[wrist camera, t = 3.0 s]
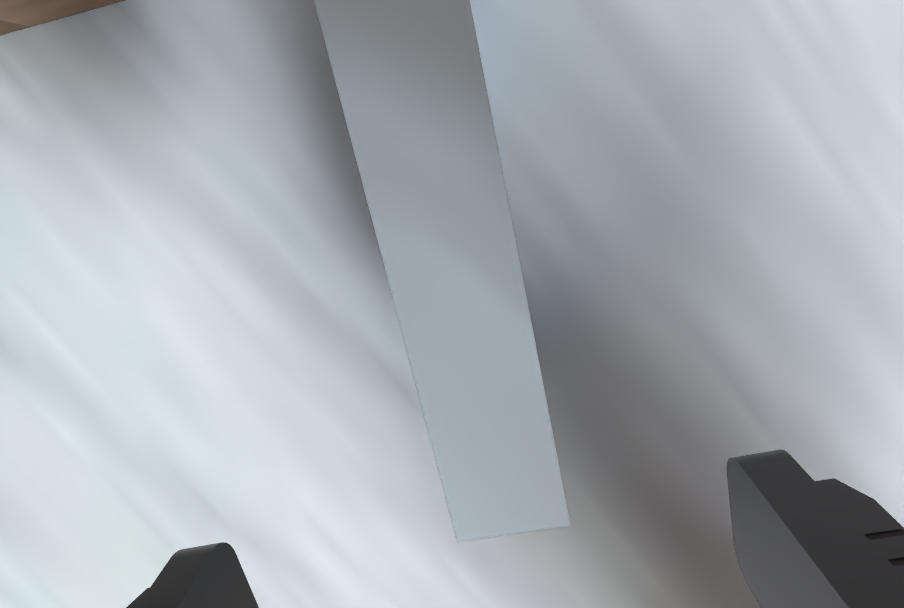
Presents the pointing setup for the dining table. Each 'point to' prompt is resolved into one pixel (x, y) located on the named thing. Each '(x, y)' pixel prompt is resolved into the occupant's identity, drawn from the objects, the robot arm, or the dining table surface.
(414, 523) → the dining table surface
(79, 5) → the walnut stand
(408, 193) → the blue-grey plate
